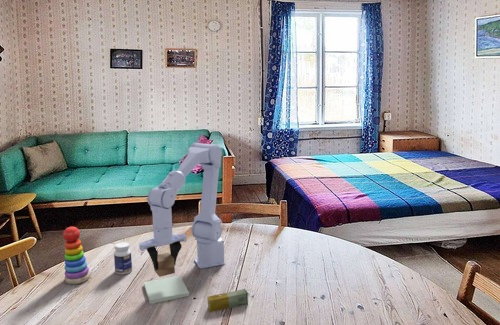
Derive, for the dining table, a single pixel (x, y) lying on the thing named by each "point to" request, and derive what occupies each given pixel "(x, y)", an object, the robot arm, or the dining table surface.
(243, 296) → the medication box
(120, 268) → the pill bottle
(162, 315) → the dining table surface
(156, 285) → the sage tile
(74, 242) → the stacking toy
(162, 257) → the walnut cube
